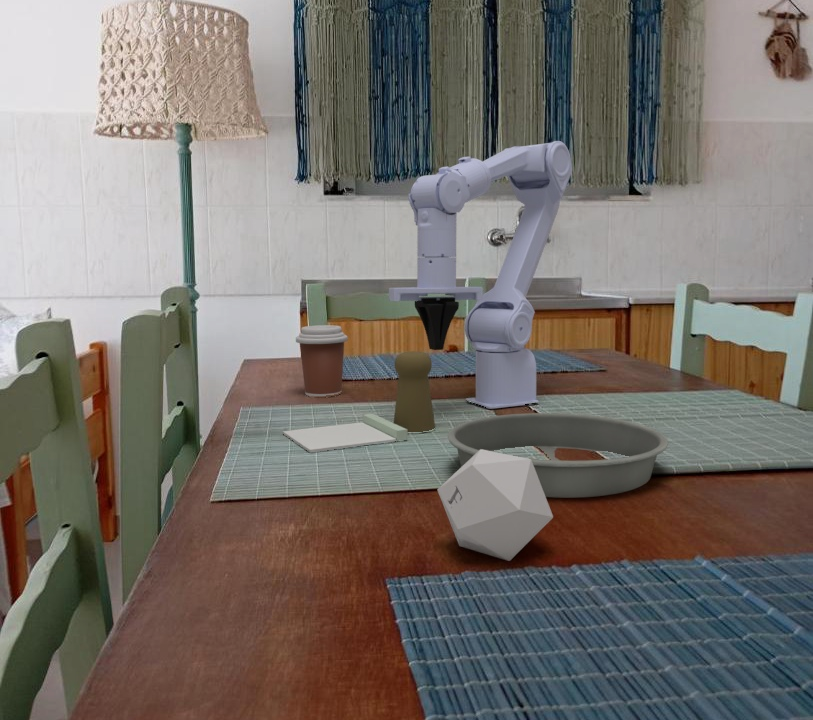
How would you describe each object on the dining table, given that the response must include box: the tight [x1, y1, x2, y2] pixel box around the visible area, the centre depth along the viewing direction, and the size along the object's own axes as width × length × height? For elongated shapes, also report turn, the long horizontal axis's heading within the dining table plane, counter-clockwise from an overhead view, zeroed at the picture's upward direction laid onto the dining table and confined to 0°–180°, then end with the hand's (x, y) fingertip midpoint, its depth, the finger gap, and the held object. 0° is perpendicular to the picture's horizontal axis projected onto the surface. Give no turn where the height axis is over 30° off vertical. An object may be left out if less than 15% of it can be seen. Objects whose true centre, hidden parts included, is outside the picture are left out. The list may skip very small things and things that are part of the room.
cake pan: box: [447, 412, 669, 499], centre depth 93 cm, size 25×25×4 cm
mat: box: [282, 421, 397, 454], centre depth 111 cm, size 12×12×1 cm
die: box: [437, 449, 554, 562], centre depth 69 cm, size 8×9×10 cm
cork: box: [393, 351, 436, 432], centre depth 115 cm, size 6×6×11 cm
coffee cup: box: [295, 324, 349, 396], centre depth 144 cm, size 9×9×12 cm
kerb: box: [362, 413, 409, 442], centre depth 114 cm, size 2×12×2 cm, turn 25°
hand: (436, 349), depth 122 cm, fingers closed
